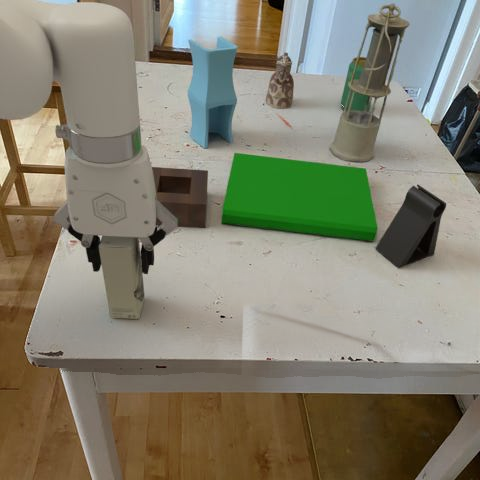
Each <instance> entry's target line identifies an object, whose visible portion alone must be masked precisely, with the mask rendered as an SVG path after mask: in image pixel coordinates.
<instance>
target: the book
mask: <svg viewBox="0 0 480 480" xmlns="http://www.w3.org/2000/svg"><path fill="white" fill-rule="evenodd" d="M229 172H230V173H229V177H228V180H227V187H226V191H225V196H224V201H223V205H222V210H221V211H222V212H221V224H224V225H225V224H227V225H233V226H234V225H236V226H244V227H251V228H260V229H267V230H268V229H269V230H276V231H285V232H293V233H301V234H309V235H316V236H317V235H318V236H326V237H334V238H342V239H351V240H357V241H367V242H374V241H375V239H376V237H377V234H378V223H377V217H376V214H375V213H376V212H375V208H374V202H373V197H372V192H371V187H370V182H369V177H368V172H367V168H366V167H365V168H364V167H357V166H349V165H341V164H340V165H339V164H331V163H325V162H324V163H323V162H316V161H308V160H298V159H290V158H281V157H274V156H266V155H258V154H248V153H240V152H233V158H232V162H231V167H230V171H229Z"/></svg>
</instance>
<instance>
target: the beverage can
mask: <svg viewBox="0 0 480 480" xmlns="http://www.w3.org/2000/svg"><path fill="white" fill-rule="evenodd" d="M366 57H367V56H365V57H364V56H360V58H359V62H358V65H357V69H356V72H355V76H354V79H353V80H359V79H360V76H361V73H362V70H363V67H364V65H365V61H366ZM356 60H357V56H356V57H353V58H352V61H350V63H349V65H348V68H347V75H346V78H345V82H344V85H343V91H342V95H341V99H340V106H341V110H343V111H344V109H345V106H346V102H347V98H348V95H349V91H350V88H349V86H348V83H349V82H350V81H351V78H352V76H353V71H354V68H355V63H356ZM352 95H353V91H352V92H351V96H350V100H349V104H348V107H347V111H348V109H349V105H350V102H351V99H352ZM367 98H368V95H361V94H359V93H354V96H353V102H352V106H351V110H355V111H364V110H365V106H366V102H367ZM372 101H373V97H371V96H370V99H369V103H368V106H367V109H366V111H369V109H370V108H371V104H372ZM341 104H342V105H343V106H344V107H343V106H342V105H341Z"/></svg>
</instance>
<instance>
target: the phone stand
mask: <svg viewBox="0 0 480 480" xmlns="http://www.w3.org/2000/svg"><path fill="white" fill-rule="evenodd" d="M446 208H447V202H445V201H444V200H442V199H441V198H440V197H438V196H437V195H434V194H433V193H432V192H430V191H429V190H427V189H426V188H425V187H423V186H421V185H420V184H419V183H418V184H416V186H415V185H412V186H411V187H410V188H409V189H408V190H407V192H406V194H405V198H404V200H403V202H402V203H401V206H400V207H399V209H398V211H397V212H396V214H395V216H394V217H393V218H392V221H391V222H390V224H389V225H388V227H387V229H386V230H385V232H384V233H383V235H382V237H381V238H380V240H379V241H378V243H377V245H376V246H375V250H376V251H377V252H378V253H380V254H381V255H382V256H384V258H386V260H388V261H390V262H391V263H392V264H393V265H394V266H396V268H397V269H401V268H404V267H406V266H409V265H411V264H414V263H417V262H419V261H422V260H424V259H428V258H430V257H432V256H434V255H435V253H436V252H435V251H436V247H437V243H438V236H439V230H440V226H441V220H442V217H443V214H444V212H445V210H446Z"/></svg>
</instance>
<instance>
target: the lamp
mask: <svg viewBox="0 0 480 480" xmlns="http://www.w3.org/2000/svg"><path fill="white" fill-rule="evenodd" d="M387 9H388V11H387V12H385V11H384V10H387ZM394 11H396V12H397V14H395V12H394ZM401 15H402V10H401V9H400V7H399V6H397V5H396V4H395V3H390V4H385V5H382V6H380V8H379V13H375V14H369V15H367V24H366V26H365V32H364V35H363V39H362V42H361V45H360V47H359V50H358V53H357V56H356V57H357V60H356V63H355V68H354V71H353V76H352V78H351V81H350V82H349V83H348V86H349V88H350V91H349V95H348V98H347V102H346V106H345V109H344V110H343V111H342V113H341V114H340V116H339V121H338V125H337V128H336V132H335V134H334V139H333V142H332V143H331V144H330V146H329V149H330V151H331V154H333V155H334V156H335V157H337V158H339V159H340V160H343V161H349V162H367V161H368V162H369V161H371V160H372V159H373V158H374V155H375V151H374V148H375V144H376V142H377V138H378V134H379V130H380V127H381V123H382V118H383V114H384V111H385V106H386V103H387V98H388V96H389V95H390V94H391V93H392V90H391V88H390V83H391V81H392V79H393V76H394V72H395V67H396V65H397V58H398V54H399V50H400V47H401V44H402V42H403V38H404V35H405V32H406V29H407V28H409V27H410V25H411V23H410V22H409V21H408V20H406V19H404V18H401ZM370 28H373V29H372V35H371V40H370V43H369V45H368V46H369V47H368V50H367V54H366V56H365V57H366V61H365V65H364V67H363V70H362V73H361V76H360V79H359V80H353V79H354V76H355V72H356V69H357V65H358V62H359V58H360V57H361V55H362V51H363V48H364V45H365V41H366V38H367V35H368V31H369V29H370ZM353 42H355V40H353ZM397 42H398V44H397ZM396 46H397V48H396ZM395 50H396V51H395ZM394 53H395V56H394ZM393 57H394V59H393ZM392 60H393V62H392ZM391 64H392V65H391ZM389 70H390V73H389ZM388 74H389V76H388ZM387 78H388V79H387ZM386 81H387V84H386ZM352 91H353V95H352V99H351V102H350V105H349V109H348V111H347V107H348V104H349V100H350V96H351V92H352ZM354 93H359V94H361V95H368V98H367V102H366V106H365V110H364V111H355V110H351V106H352V102H353V96H354ZM370 96H371V97H372V99H373V98H374V99H373V104H372V109H371V111H370V110H367V111H366V109H367V106H368V103H369V99H370ZM380 98H383V101H382V106H381V109H380V113H379V116H376V115H374V112H375V109H376V107H375V106H376V103H377V100H378V99H380Z"/></svg>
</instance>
